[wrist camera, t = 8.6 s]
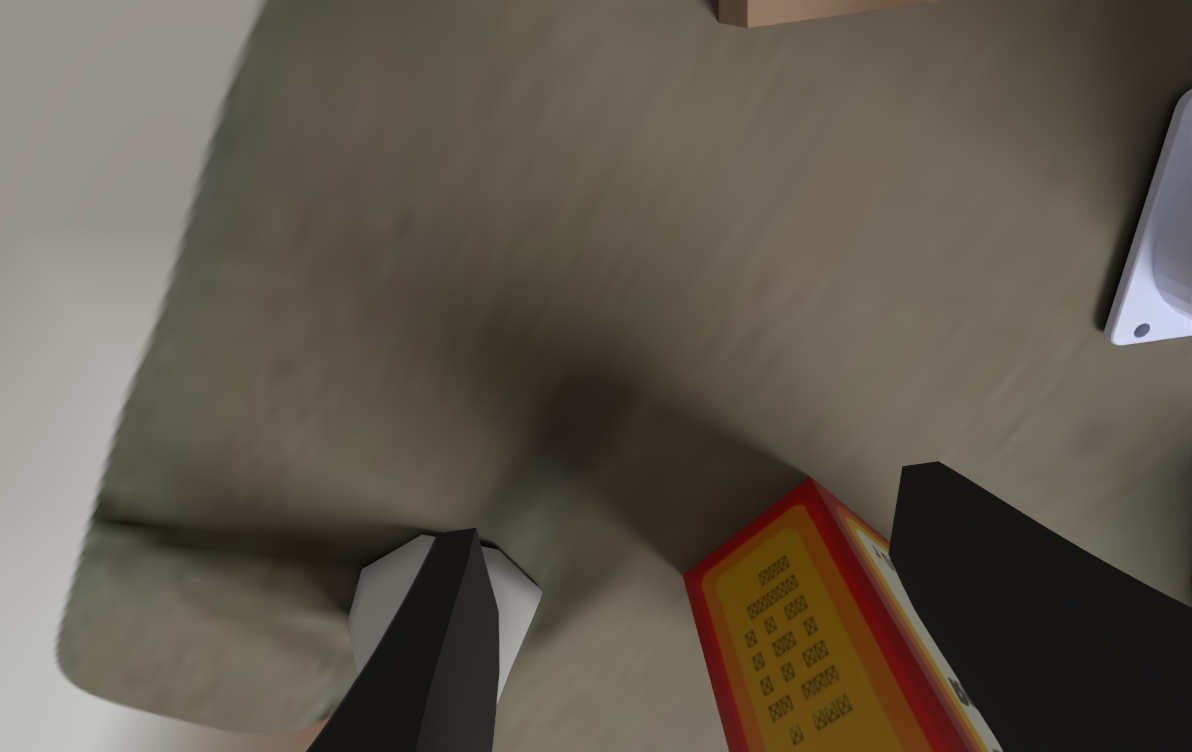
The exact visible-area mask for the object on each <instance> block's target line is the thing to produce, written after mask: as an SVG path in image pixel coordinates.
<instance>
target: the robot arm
mask: <svg viewBox="0 0 1192 752" xmlns="http://www.w3.org/2000/svg"><path fill="white" fill-rule="evenodd" d="M1139 325H1140V326H1139ZM1138 326H1139V327H1138ZM1137 327H1138V328H1137ZM1136 328H1137V329H1136ZM1135 329H1136V330H1135ZM1191 335H1192V89H1190V90H1189V91H1188V92H1186V93H1185V94H1184V95H1183V96H1182V97H1181V98H1180V100H1179V101H1178V103H1177V105H1176V107H1175V110H1174V113H1173V117H1172V120H1171V123H1170V126H1169V129H1168V132H1167V135H1166V139H1165V142H1164V145H1163V148H1162V151H1161V154H1160V157H1159V161H1158V164H1157V167H1156V170H1155V173H1154V176H1153V179H1152V183H1151V186H1150V189H1149V192H1148V195H1147V198H1146V201H1145V205H1144V208H1143V211H1142V214H1141V217H1140V220H1139V223H1138V226H1137V230H1136V233H1135V236H1134V239H1133V242H1132V245H1131V248H1130V252H1129V255H1128V258H1127V261H1126V264H1125V267H1124V270H1123V274H1122V277H1121V280H1120V283H1119V286H1118V289H1117V292H1116V296H1115V299H1114V302H1113V305H1112V308H1111V311H1110V314H1109V317H1108V321H1107V324H1106V327H1105V330H1104V336H1105V338H1106V339H1107V340H1109V341H1110V342H1112V343H1114V344H1115V345H1127V344H1134V343H1141V342H1148V341H1155V340H1163V339H1170V338H1177V337H1184V336H1191ZM888 555H889V557H890V559H891V561H892V564H893V566H894V568H895V570H896V572H897V575H898V577H899V579H900V581H901V583H902V586H903V588H904V590H905V592H906V594H907V596H908V598H909V600H910V602H911V604H912V606H913V608H914V610H915V612H916V613H917V615H918V617H919V618H920V620H921V621H922V623H923V625H924V626H925V628H926V629H927V631H928V633H929V634H930V636H931V637H932V639H933V641H934V642H935V644H936V645H937V647H938V649H939V650H940V652H941V653H942V655H943V657H944V658H945V660H946V661H947V663H948V664H949V666H950V667H951V669H952V671H953V672H954V674H955V675H956V677H957V678H958V680H959V682H960V683H961V685H962V686H963V688H964V689H965V691H966V692H967V694H968V696H969V697H970V699H971V700H972V702H973V703H974V705H975V707H976V708H977V710H978V711H979V713H980V714H981V716H982V718H983V719H984V721H985V722H986V724H987V725H988V727H989V729H990V730H991V732H992V733H993V735H994V736H995V738H996V740H997V741H998V743H999V745H1000V747H1001V748H1002V750H1003V752H1192V608H1191V607H1189V606H1187V605H1185V604H1183V603H1181V602H1179V601H1177V600H1175V599H1173V598H1171V597H1169V596H1167V595H1165V594H1163V593H1161V592H1159V591H1158V590H1156V589H1154V588H1152V587H1150V586H1148V585H1146V584H1144V583H1143V582H1141V581H1139V580H1137V579H1135V578H1134V577H1132V576H1130V575H1128V574H1126V573H1124V572H1123V571H1121V570H1119V569H1117V568H1115V567H1113V566H1112V565H1110V564H1108V563H1106V562H1104V561H1102V560H1101V559H1099V558H1097V557H1096V556H1094V555H1092V554H1090V553H1089V552H1087V551H1085V550H1083V549H1082V548H1080V547H1078V546H1076V545H1075V544H1073V543H1071V542H1070V541H1068V540H1066V539H1065V538H1063V537H1061V536H1060V535H1058V534H1056V533H1055V532H1053V531H1051V530H1050V529H1048V528H1046V527H1045V526H1043V525H1041V524H1040V523H1038V522H1036V521H1035V520H1033V519H1032V518H1030V517H1028V516H1027V515H1025V514H1023V513H1022V512H1020V511H1019V510H1017V509H1015V508H1014V507H1012V506H1011V505H1009V504H1007V503H1006V502H1004V501H1003V500H1001V499H999V498H998V497H996V496H995V495H993V494H991V493H990V492H988V491H987V490H985V489H983V488H982V487H980V486H979V485H977V484H975V483H974V482H972V481H971V480H969V479H967V478H966V477H964V476H962V475H961V474H959V473H957V472H956V471H954V470H952V469H951V468H949V467H947V466H946V465H944V464H942V463H940V462H939V461H937V462H930V463H923V464H916V465H909V466H903V467H902V473H901V479H900V485H899V491H898V497H897V504H896V510H895V516H894V522H893V528H892V534H891V540H890V547H889V553H888ZM499 672H500V658H499V610H498V607H497V603H496V599H495V596H494V592H493V588H492V585H491V581H490V577H489V574H488V570H487V566H486V563H485V559H484V555H483V552H482V548H481V544H480V541H479V537H478V533H477V530H476V528H472V529H465V530H458V531H452V532H445V533H439V535H438V536H437V537H436V538H435V539H434V541H433V543H432V545H431V547H430V549H429V552H428V554H427V556H426V558H425V560H424V562H423V564H422V566H421V568H420V570H419V572H418V574H417V575H416V577H415V579H414V581H413V583H412V585H411V587H410V589H409V591H408V592H407V594H406V596H405V598H404V600H403V602H402V604H401V605H400V607H399V609H398V611H397V612H396V614H395V616H394V618H393V619H392V621H391V623H390V625H389V626H388V628H387V630H386V632H385V633H384V635H383V637H382V639H381V640H380V642H379V644H378V645H377V647H376V649H375V650H374V652H373V654H372V655H371V657H370V658H369V660H368V662H367V663H366V665H365V666H364V668H363V669H362V671H361V672H360V674H359V676H358V677H357V679H356V680H355V682H354V683H353V685H352V686H351V688H350V690H349V691H348V693H347V694H346V696H345V697H344V699H343V700H342V702H341V703H340V705H339V706H338V708H337V709H336V711H335V712H334V714H333V715H332V716H331V718H330V719H329V721H328V722H327V724H326V725H325V726H324V728H323V729H322V731H321V732H320V733H319V735H318V736H317V738H316V739H315V740H314V742H313V743H312V744H311V746H310V747H309V748H308V750H307V751H306V752H492V746H493V736H494V726H495V716H496V705H497V695H498V684H499Z"/></svg>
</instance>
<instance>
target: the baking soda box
mask: <svg viewBox="0 0 1192 752" xmlns="http://www.w3.org/2000/svg"><path fill="white" fill-rule="evenodd" d="M889 547H890V543H889V542H888V541H887V540H886V539H885V538H883V537H882V536H881V535H880V534H879V533H877V532H876V531H875V530H874V529H873V528H871V527H870V526H869V525H868V524H867V523H865V522H864V521H863V520H862V519H860V518H859V517H858V516H857V515H856V514H854V513H853V512H852V511H851V510H850V509H848V508H847V507H846V506H845V505H844V504H842V503H841V502H840V501H839V500H838V499H836V498H835V497H834V496H833V495H832V494H830V493H829V492H828V491H827V490H826V489H824V488H823V487H822V486H821V485H820V484H818V483H817V482H816V481H815V480H814V479H812V478H811V477H809V478H807V479H806V480H805V481H803V482H802V483H801V484H800V485H798V486H797V487H796V488H795V489H793V490H792V491H791V492H789V493H788V494H787V495H786V496H784V497H783V498H782V499H780V500H779V501H778V502H777V503H775V504H774V505H773V506H772V507H770V508H769V509H768V510H766V511H765V512H764V513H763V514H761V515H760V516H759V517H757V518H756V519H755V520H754V521H752V522H751V523H750V524H748V525H747V526H746V527H745V528H743V529H742V530H741V531H740V532H738V533H737V534H736V535H734V536H733V537H732V538H731V539H729V540H728V541H727V542H725V543H724V544H723V545H722V546H720V547H719V548H718V549H717V550H715V551H714V552H713V553H711V554H710V555H709V556H708V557H706V558H705V559H704V560H702V561H701V562H700V563H699V564H697V565H696V566H695V567H694V568H692V569H691V570H690V571H688V572H687V573H686V574H685V575H683V578H684V582H685V586H686V590H687V593H688V597H689V601H690V605H691V608H692V612H693V616H694V620H695V624H696V627H697V631H698V635H699V639H700V643H701V646H702V650H703V654H704V658H705V661H706V665H707V669H708V673H709V677H710V680H711V684H712V688H713V692H714V695H715V699H716V703H717V707H718V711H719V714H720V718H721V722H722V726H723V729H724V733H725V737H726V741H727V745H728V748H729V752H1003V750H1002V748H1001V747H1000V745H999V743H998V741H997V740H996V738H995V736H994V735H993V733H992V732H991V730H990V729H989V727H988V725H987V724H986V722H985V721H984V719H983V718H982V716H981V714H980V713H979V711H978V710H977V708H976V707H975V705H974V703H973V702H972V700H971V699H970V697H969V696H968V694H967V692H966V691H965V689H964V688H963V686H962V685H961V683H960V682H959V680H958V678H957V677H956V675H955V674H954V672H953V671H952V669H951V667H950V666H949V664H948V663H947V661H946V660H945V658H944V657H943V655H942V653H941V652H940V650H939V649H938V647H937V645H936V644H935V642H934V641H933V639H932V637H931V636H930V634H929V633H928V631H927V629H926V628H925V626H924V625H923V623H922V621H921V620H920V618H919V617H918V615H917V613H916V612H915V610H914V608H913V606H912V604H911V602H910V600H909V598H908V596H907V594H906V592H905V590H904V588H903V586H902V583H901V581H900V579H899V577H898V575H897V572H896V570H895V568H894V566H893V564H892V561H891V559H890V557H889V555H888V553H889Z"/></svg>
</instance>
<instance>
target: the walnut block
mask: <svg viewBox="0 0 1192 752" xmlns="http://www.w3.org/2000/svg"><path fill="white" fill-rule="evenodd" d="M937 1H945V0H718V13H719V23H723V24H729V25H734V26H740V27H745V28H751V27H758V26H765V25H772V24H780V23H787V22H794V21H801V20H808V19H815V18H823V17H830V16H837V15H844V14H851V13H859V12H866V11H873V10H880V9H887V8H894V7H902V6H909V5H916V4H923V3H930V2H937Z"/></svg>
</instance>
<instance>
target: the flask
mask: <svg viewBox="0 0 1192 752" xmlns="http://www.w3.org/2000/svg"><path fill="white" fill-rule="evenodd" d="M435 538H436V537H432V536H427V535H421V536H419V537H417V538H415V539H414V540H412V541H410V542H408V543H407V544H405V545H403V546H401V547H400V548H398V549H396V550H395V551H393V552H391V553H389V554H388V555H386V556H384V557H382V558H381V559H379V560H377V561H376V562H374V563H372V564H370V565H369V566H367V567H365V568H363V569H362V570H361V574H360V578H359V581H358V585H357V589H356V592H355V596H354V600H353V603H352V607H351V611H350V614H349V618H348V625H349V631H350V638H351V643H352V649H353V654H354V659H355V664H356V669H357V674H358V676H359V674H360V672H361V671H362V669H363V668H364V666H365V665H366V663H367V662H368V660H369V658H370V657H371V655H372V654H373V652H374V650H375V649H376V647H377V645H378V644H379V642H380V640H381V639H382V637H383V635H384V633H385V632H386V630H387V628H388V626H389V625H390V623H391V621H392V619H393V618H394V616H395V614H396V612H397V611H398V609H399V607H400V605H401V604H402V602H403V600H404V598H405V596H406V594H407V592H408V591H409V589H410V587H411V585H412V583H413V581H414V579H415V577H416V575H417V574H418V572H419V570H420V568H421V566H422V564H423V562H424V560H425V558H426V556H427V554H428V552H429V549H430V547H431V545H432V543H433V541H434V539H435ZM481 548H482V552H483V555H484V559H485V563H486V566H487V570H488V574H489V577H490V581H491V585H492V588H493V592H494V596H495V599H496V603H497V607H498V610H499V658H500V672H499V684H498V695H497V703H498V700H499V698H500V695H501V692H502V690H503V687H504V685H505V682H506V680H507V677H508V674H509V672H510V669H511V667H512V665H513V662H514V660H515V658H516V655H517V653H518V651H519V648H520V646H521V644H522V641H523V639H524V637H525V634H526V632H527V630H528V627H529V625H530V623H531V620H532V618H533V616H534V614H535V611H536V608H537V606H538V603H539V601H540V598H541V596H542V593H543V592H542V591H541V590H540V589H539V588H538V587H537V586H536V585H535V584H534V583H533V582H532V581H531V580H530V579H529V578H528V577H527V576H526V575H525V574H523V573H522V572H521V571H520V570H519V569H518V568H517V567H516V566H515V565H514V564H513V563H512V562H511V561H510V560H509V559H508V558H507V557H506V556H505V555H504V554H503V553H501V552H500V551H499V550H497V549H492V548H487V547H482V546H481Z"/></svg>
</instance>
